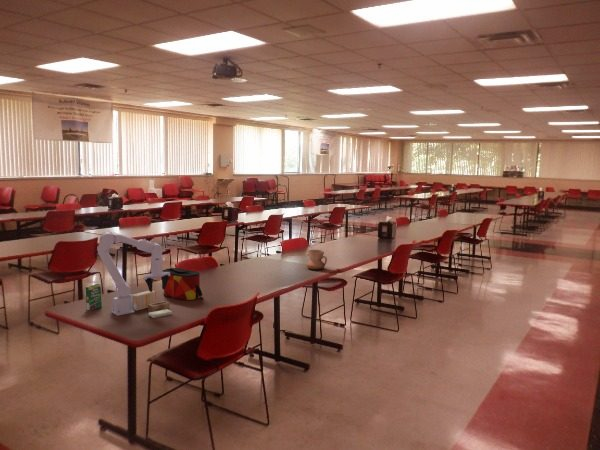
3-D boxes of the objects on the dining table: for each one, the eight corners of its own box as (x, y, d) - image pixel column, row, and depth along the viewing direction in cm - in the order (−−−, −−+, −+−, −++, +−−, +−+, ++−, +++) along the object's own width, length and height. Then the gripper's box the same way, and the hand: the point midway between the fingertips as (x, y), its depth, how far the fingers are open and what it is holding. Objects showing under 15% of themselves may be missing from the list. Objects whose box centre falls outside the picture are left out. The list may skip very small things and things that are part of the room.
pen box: (152, 313, 251) (152, 306, 250) (148, 311, 254) (148, 304, 253) (169, 309, 258) (169, 302, 257) (165, 308, 261) (165, 301, 260)
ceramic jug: (301, 269, 365) (301, 250, 363) (310, 265, 377) (311, 248, 375) (321, 272, 356) (322, 254, 353) (330, 269, 368) (331, 251, 366)
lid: (153, 317, 243) (153, 315, 243) (148, 315, 247) (148, 312, 247) (171, 313, 250) (171, 311, 250) (167, 311, 254) (167, 308, 254)
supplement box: (151, 289, 267) (131, 294, 257) (156, 291, 265) (136, 295, 254) (151, 303, 268) (131, 309, 258) (156, 305, 266) (136, 310, 255)
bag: (154, 294, 287) (154, 268, 285) (171, 289, 299) (171, 264, 297) (191, 302, 272) (191, 274, 270) (207, 297, 284) (207, 270, 282)
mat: (154, 318, 243) (154, 318, 243) (147, 315, 248) (147, 314, 248) (171, 314, 250) (171, 314, 250) (165, 311, 255) (165, 310, 255)
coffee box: (89, 311, 253) (88, 287, 251) (85, 310, 254) (84, 286, 252) (102, 307, 260) (101, 284, 258) (98, 306, 261) (97, 283, 259)
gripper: (147, 269, 248) (148, 294, 250) (172, 265, 258) (173, 289, 260) (141, 266, 253) (142, 291, 255) (166, 263, 263) (166, 287, 265)
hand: (157, 290), depth 258 cm, fingers open, 7 cm apart
